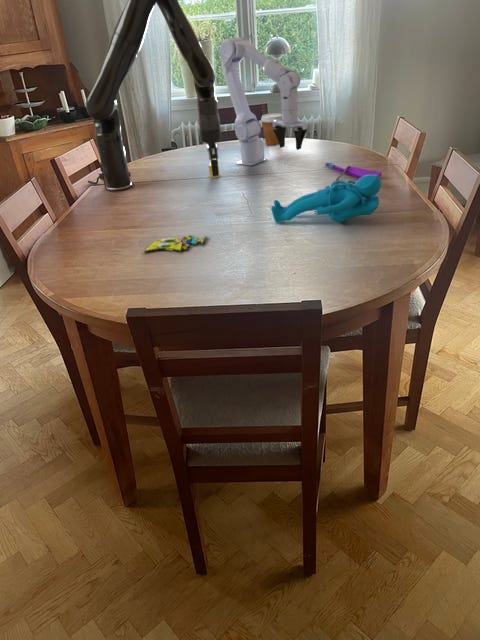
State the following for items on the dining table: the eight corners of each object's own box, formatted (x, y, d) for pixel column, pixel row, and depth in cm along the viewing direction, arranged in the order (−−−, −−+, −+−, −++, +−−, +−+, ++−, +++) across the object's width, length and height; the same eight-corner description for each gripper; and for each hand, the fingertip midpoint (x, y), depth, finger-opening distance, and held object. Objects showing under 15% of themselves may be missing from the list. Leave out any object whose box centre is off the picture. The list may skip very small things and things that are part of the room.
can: (214, 178, 179) (212, 166, 177) (207, 177, 182) (206, 164, 179) (221, 176, 181) (220, 163, 179) (215, 174, 184) (214, 162, 181)
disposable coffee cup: (259, 145, 216) (257, 117, 209) (266, 140, 223) (265, 113, 216) (279, 146, 212) (278, 117, 206) (286, 140, 220) (285, 112, 213)
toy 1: (199, 248, 125) (143, 249, 127) (199, 251, 125) (144, 252, 127) (206, 233, 133) (154, 234, 135) (206, 236, 133) (154, 237, 136)
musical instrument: (369, 191, 157) (389, 166, 169) (368, 185, 155) (389, 160, 168) (302, 188, 169) (326, 165, 182) (302, 182, 168) (325, 160, 180)
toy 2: (275, 189, 144) (378, 163, 133) (284, 222, 149) (384, 199, 138) (266, 210, 130) (379, 182, 120) (276, 245, 135) (386, 221, 125)
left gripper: (221, 129, 166) (226, 176, 175) (218, 122, 178) (223, 166, 187) (200, 132, 166) (206, 179, 174) (198, 124, 178) (204, 168, 186)
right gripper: (267, 110, 175) (268, 148, 182) (299, 112, 167) (300, 152, 174) (278, 106, 179) (279, 144, 187) (311, 108, 171) (311, 148, 178)
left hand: (215, 172), depth 181 cm, fingers open, 7 cm apart
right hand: (290, 148), depth 181 cm, fingers open, 7 cm apart
